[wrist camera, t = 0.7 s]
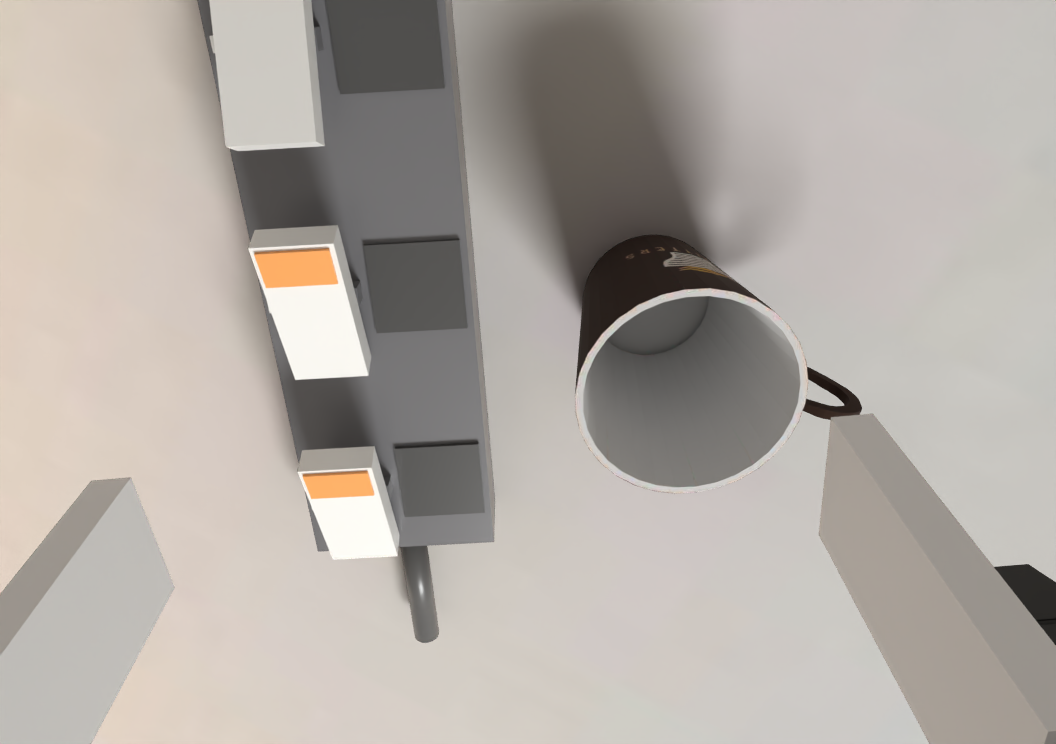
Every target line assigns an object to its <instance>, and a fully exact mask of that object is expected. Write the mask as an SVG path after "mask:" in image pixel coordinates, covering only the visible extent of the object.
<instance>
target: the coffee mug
mask: <svg viewBox="0 0 1056 744" xmlns="http://www.w3.org/2000/svg"><path fill="white" fill-rule="evenodd" d="M808 379H809V380H811V381H812V382H814V383H816V384H817V385H819V386H820V387H822V388H823V389H825V390H827V391H829V392H830V393H832V394H833V395H835V396H836V397H838V398H839V399H840V400H841V401H842V402H843V403H844V405H845V406H829V405H825V404H821V403H818V402H815V401H812V400H808V399H806V396H807V388H808ZM575 407H576V417H577V421H578V425H579V429H580V432H581V434H582V436H583V438H584V440H585V442H586V444H587V446H588V448H589V450H590V451H591V452H592V453H593V454H594V456H595V457H596V458H597V459H598V461H599V462H600V463H601V464H602V465H603V466H605V467H606V468H607V469H608V470H610V471H611V472H612V473H613V474H615V475H616V476H618V477H619V478H621V479H623V480H625V481H627V482H629V483H631V484H633V485H636V486H639V487H642V488H646V489H649V490H652V491H658V492H666V493H696V492H701V491H706V490H711V489H715V488H719V487H722V486H724V485H727V484H730V483H732V482H735V481H738V480H739V479H741V478H743V477H745V476H746V475H748V474H750V473H752V472H753V471H755V470H757V469H758V468H759V467H761V466H762V465H763V464H764V463H766V462H767V461H768V460H769V459H771V458H772V457H773V456H774V455H775V454H776V453H777V452H778V450H779V449H780V448H781V447H782V446H783V445H784V444H785V442H786V441H787V440H788V439H789V437H790V435H791V434H792V432H793V430H794V429H795V427H796V425H797V424H798V422H799V419H800V417H801V414H802V411H805V412H807V413H810V414H812V415H814V416H817V417H819V418H823V419H829V420H831V417H840V416H851V415H859V414H860V412H861V410H862V407H861V404H860V402H859V399H858V398H857V397H856V396H855V395H854V394H853V393H852V392H851V391H849V390H848V389H847V388H845V387H843V386H842V385H840V384H838V383H837V382H835V381H833V380H832V379H830V378H828V377H826V376H824V375H822V374H820V373H818V372H817V371H815V370H813V369H811V368H809V367H807V362H806V359H805V356H804V353H803V350H802V347H801V344H800V342H799V341H798V339H797V337H796V336H795V334H794V333H793V331H792V329H791V328H790V326H789V325H788V324H787V323H786V322H785V321H784V320H783V319H782V318H781V317H780V316H779V315H778V314H777V313H776V312H775V311H773V310H772V309H771V308H770V307H768V306H767V305H766V304H765V303H763V302H762V301H761V300H759V299H758V298H757V297H756V296H754V295H753V294H752V293H750V292H749V291H748V290H747V289H745V288H744V287H743V286H741V285H740V284H739V283H738V282H736V281H735V280H734V279H732V278H731V277H730V276H729V275H727V274H726V273H725V272H724V271H722V270H721V269H720V268H718V267H717V266H716V265H715V264H713V263H712V262H711V261H709V260H708V259H707V258H706V257H704V256H703V255H702V254H700V253H699V252H698V251H697V250H695V249H694V248H693V247H691V246H689V245H688V244H686V243H685V242H683V241H681V240H678V239H675V238H672V237H669V236H662V235H644V236H640V237H635V238H631V239H629V240H626V241H624V242H622V243H620V244H618V245H616V246H615V247H613V248H612V249H610V250H609V251H608V252H606V253H605V254H604V255H603V256H602V257H601V258H600V259H599V260H598V262H597V263H596V265H595V266H594V268H593V269H592V271H591V272H590V274H589V277H588V279H587V282H586V284H585V289H584V294H583V304H582V317H581V329H580V341H579V353H578V366H577V378H576V390H575Z"/></svg>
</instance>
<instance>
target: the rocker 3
mask: <svg viewBox="0 0 1056 744" xmlns="http://www.w3.org/2000/svg"><path fill="white" fill-rule="evenodd" d="M298 474H299V477H300V479H301V482H302V484H303V487H304V489H305V492H306V494H307V497H308V499H309V502H310V504H311V507H312V509H313V512H314V514H315V516H316V519H317V521H318V524H319V526H320V529H321V531H322V534H323V536H324V539H325V541H326V544H327V546H328V549H329V551H330V554H331V556H332V559H333V560H335V559H353V558H371V557H390V556H398V547H399V536H400V535H399V532H398V528H397V524H396V521H395V517H394V514H393V510H392V507H391V503H390V500H389V496H388V493H387V489H386V485H385V482H384V478H383V475H382V471H381V468H380V464H379V461H378V457H377V454H376V450H375V446H369V447H351V448H333V449H315V450H302V453H301V458H300V462H299V467H298Z"/></svg>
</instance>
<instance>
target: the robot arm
mask: <svg viewBox="0 0 1056 744" xmlns="http://www.w3.org/2000/svg"><path fill="white" fill-rule="evenodd" d="M819 536H820V538H821V540H822V542H823V544H824V545H825V547H826V549H827V551H828V553H829V555H830V557H831V559H832V561H833V562H834V564H835V566H836V568H837V570H838V572H839V574H840V576H841V578H842V579H843V581H844V583H845V585H846V587H847V589H848V591H849V593H850V595H851V596H852V598H853V600H854V602H855V604H856V606H857V608H858V610H859V612H860V613H861V615H862V617H863V619H864V621H865V623H866V625H867V627H868V629H869V630H870V632H871V634H872V636H873V638H874V640H875V642H876V644H877V646H878V647H879V649H880V651H881V653H882V655H883V657H884V659H885V661H886V663H887V664H888V666H889V668H890V670H891V672H892V674H893V676H894V678H895V680H896V681H897V683H898V685H899V687H900V689H901V691H902V693H903V695H904V697H905V698H906V700H907V702H908V704H909V706H910V708H911V710H912V712H913V714H914V715H915V717H916V719H917V721H918V723H919V725H920V727H921V729H922V731H923V732H924V734H925V736H926V738H927V740H928V742H929V744H1056V582H1054V581H1053V580H1051V579H1050V578H1048V577H1047V576H1045V575H1044V574H1042V573H1041V572H1039V571H1038V570H1036V569H1035V568H1033V567H1032V566H1030V565H1029V564H1025V565H1012V566H1000V567H993V565H992V564H991V563H990V562H989V560H988V559H987V558H986V556H985V555H984V554H983V553H982V551H981V550H980V549H979V548H978V546H977V545H976V544H975V543H974V541H973V540H972V539H971V537H970V536H969V535H968V534H967V532H966V531H965V530H964V529H963V527H962V526H961V525H960V523H959V522H958V521H957V520H956V518H955V517H954V516H953V515H952V513H951V512H950V511H949V510H948V508H947V507H946V506H945V504H944V503H943V502H942V501H941V499H940V498H939V497H938V496H937V494H936V493H935V492H934V490H933V489H932V488H931V487H930V485H929V484H928V483H927V482H926V480H925V479H924V478H923V477H922V475H921V474H920V473H919V471H918V470H917V469H916V468H915V466H914V465H913V464H912V463H911V461H910V460H909V459H908V457H907V456H906V455H905V454H904V452H903V451H902V450H901V449H900V447H899V446H898V445H897V444H896V442H895V441H894V440H893V438H892V437H891V436H890V435H889V433H888V432H887V431H886V430H885V428H884V427H883V426H882V424H881V423H880V422H879V421H878V419H877V418H876V417H875V416H874V414H863V415H851V416H840V417H831V422H830V432H829V441H828V451H827V460H826V470H825V479H824V489H823V498H822V508H821V518H820V527H819ZM174 588H175V587H174V584H173V582H172V579H171V577H170V574H169V572H168V569H167V567H166V564H165V562H164V559H163V557H162V554H161V552H160V549H159V547H158V544H157V542H156V539H155V537H154V534H153V532H152V529H151V527H150V524H149V522H148V519H147V517H146V514H145V512H144V509H143V506H142V504H141V501H140V499H139V496H138V494H137V491H136V489H135V486H134V484H133V481H132V479H131V477H130V478H119V479H107V480H95V481H91V482H90V483H89V484H88V485H87V487H86V488H85V489H84V490H83V492H82V493H81V494H80V495H79V497H78V498H77V499H76V500H75V501H74V503H73V504H72V505H71V506H70V508H69V509H68V510H67V511H66V513H65V514H64V515H63V516H62V518H61V519H60V520H59V521H58V523H57V524H56V525H55V526H54V528H53V529H52V530H51V531H50V533H49V534H48V535H47V536H46V538H45V539H44V540H43V541H42V543H41V544H40V545H39V546H38V548H37V549H36V550H35V551H34V553H33V554H32V555H31V556H30V558H29V559H28V560H27V561H26V562H25V564H24V565H23V566H22V567H21V569H20V570H19V571H18V572H17V574H16V575H15V576H14V577H13V579H12V580H11V581H10V582H9V584H8V585H7V586H6V587H5V589H4V590H3V591H2V592H1V594H0V744H91V743H92V741H93V739H94V737H95V735H96V734H97V732H98V730H99V728H100V726H101V724H102V722H103V721H104V719H105V717H106V715H107V713H108V711H109V709H110V707H111V706H112V704H113V702H114V700H115V698H116V696H117V694H118V692H119V691H120V689H121V687H122V685H123V683H124V681H125V679H126V678H127V676H128V674H129V672H130V670H131V668H132V666H133V664H134V663H135V661H136V659H137V657H138V655H139V653H140V651H141V650H142V648H143V646H144V644H145V642H146V640H147V638H148V636H149V635H150V633H151V631H152V629H153V627H154V625H155V623H156V621H157V620H158V618H159V616H160V614H161V612H162V610H163V608H164V607H165V605H166V603H167V601H168V599H169V597H170V595H171V593H172V592H173V590H174Z"/></svg>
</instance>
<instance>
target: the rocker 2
mask: <svg viewBox="0 0 1056 744" xmlns="http://www.w3.org/2000/svg"><path fill="white" fill-rule="evenodd" d="M248 250H249V253H250V255H251V258H252V261H253V264H254V266H255V269H256V272H257V275H258V278H259V280H260V283H261V286H262V289H263V291H264V294H265V297H266V300H267V303H268V305H269V308H270V311H271V314H272V317H273V319H274V322H275V325H276V328H277V330H278V333H279V336H280V339H281V342H282V344H283V347H284V350H285V353H286V355H287V358H288V361H289V364H290V367H291V369H292V372H293V375H294V378H295V380H302V379H320V378H338V377H356V376H369V369H370V363H371V353H370V349H369V345H368V342H367V338H366V334H365V330H364V326H363V322H362V318H361V314H360V310H359V306H358V302H357V298H356V294H355V290H354V287H353V283H352V279H351V275H350V271H349V267H348V263H347V259H346V255H345V251H344V247H343V243H342V239H341V235H340V232H339V228H338V225H332V226H314V227H297V228H279V229H262V230H255V231H254V233H253V236H252V239H251V242H250V244H249V247H248Z"/></svg>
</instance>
